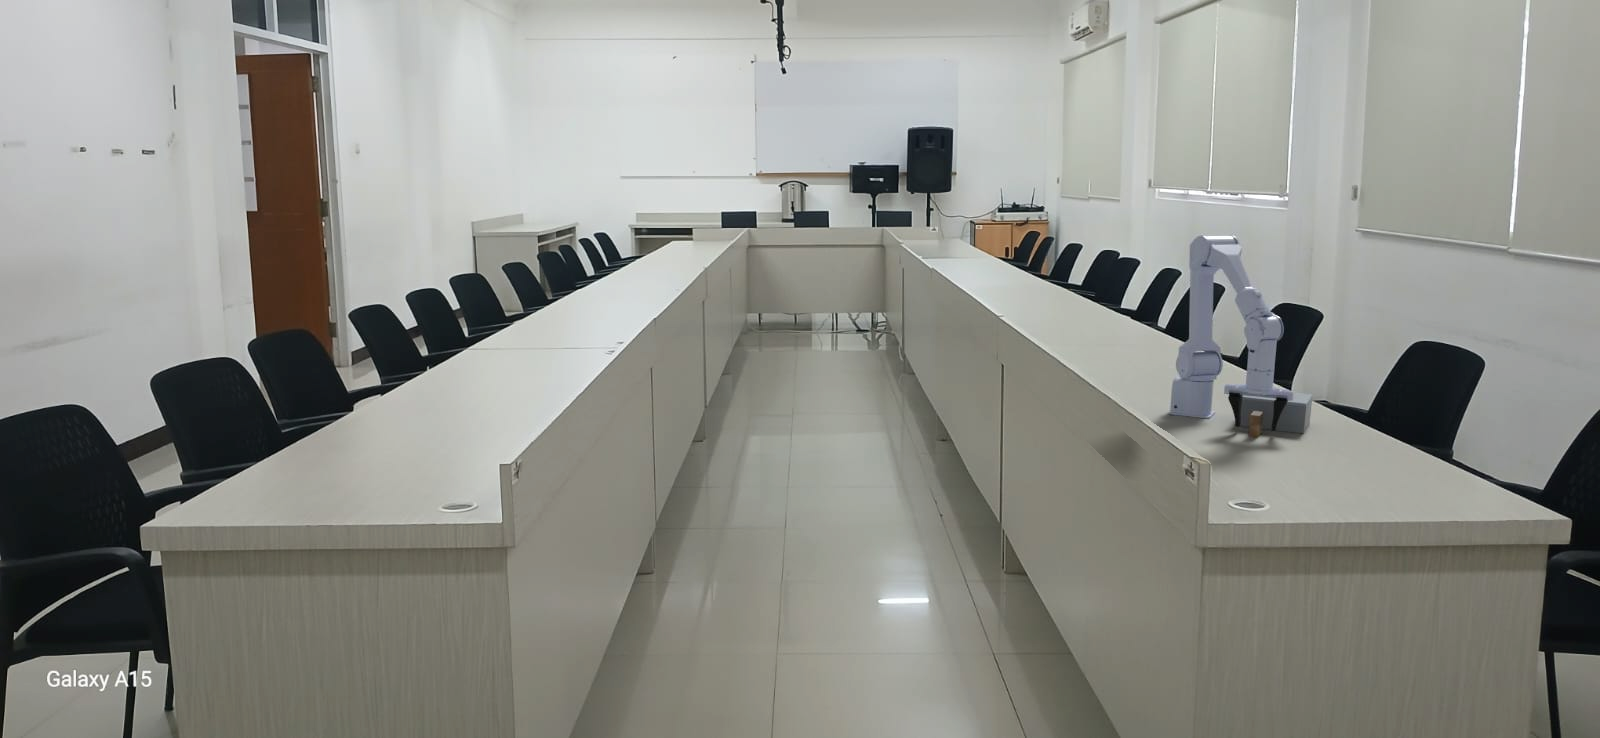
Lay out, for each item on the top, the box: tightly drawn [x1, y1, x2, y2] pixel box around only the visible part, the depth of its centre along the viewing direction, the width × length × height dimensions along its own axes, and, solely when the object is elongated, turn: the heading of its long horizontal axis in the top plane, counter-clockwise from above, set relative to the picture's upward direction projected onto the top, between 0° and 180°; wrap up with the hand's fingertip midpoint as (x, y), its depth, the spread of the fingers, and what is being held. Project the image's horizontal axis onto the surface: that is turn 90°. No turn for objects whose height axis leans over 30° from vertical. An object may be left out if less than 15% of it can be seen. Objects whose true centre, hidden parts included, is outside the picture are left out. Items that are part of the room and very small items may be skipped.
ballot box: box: [1234, 392, 1313, 434], centre depth 274 cm, size 15×12×7 cm
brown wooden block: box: [1248, 411, 1263, 438], centre depth 264 cm, size 2×5×5 cm, turn 151°
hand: (1255, 427), depth 264 cm, fingers open, 7 cm apart
